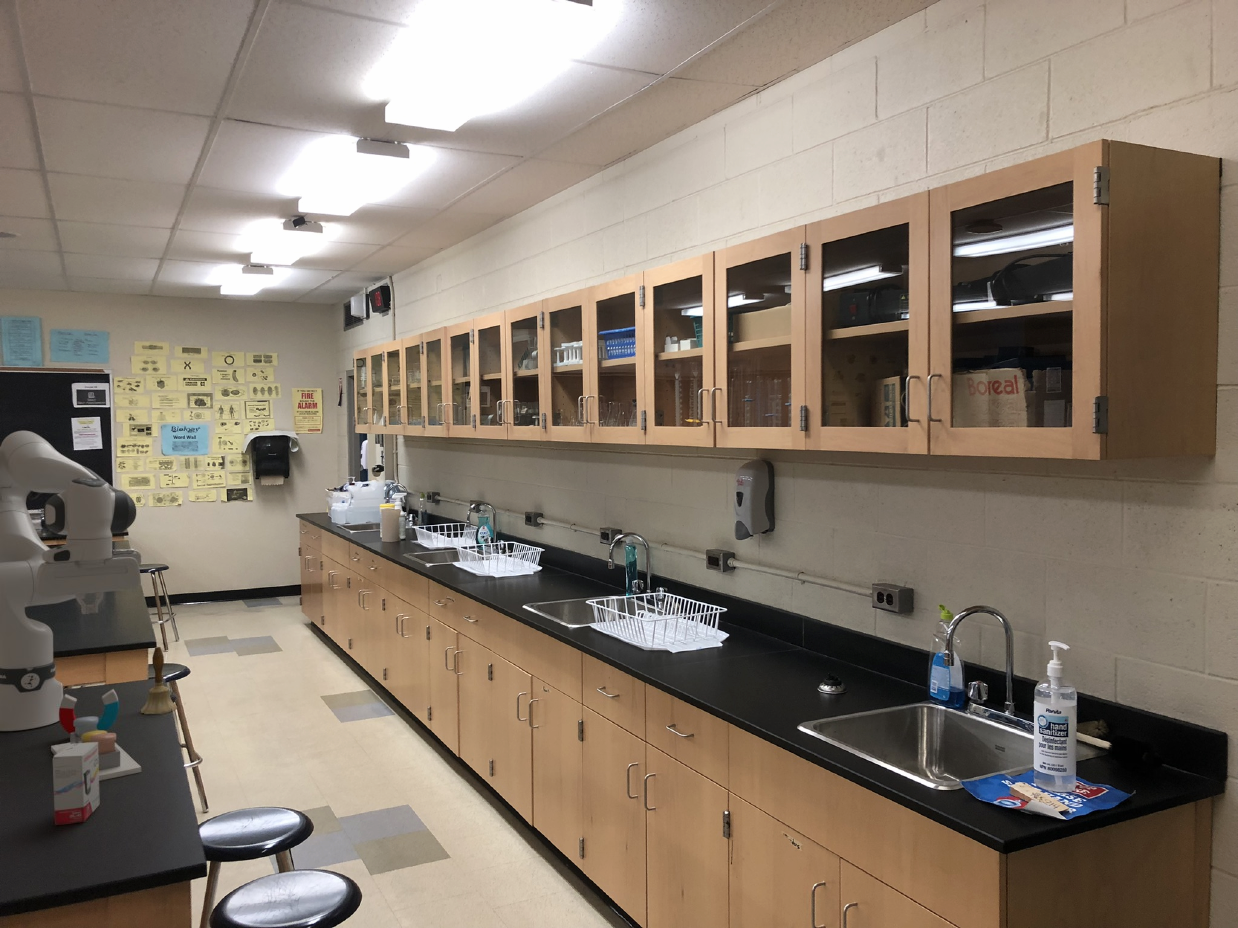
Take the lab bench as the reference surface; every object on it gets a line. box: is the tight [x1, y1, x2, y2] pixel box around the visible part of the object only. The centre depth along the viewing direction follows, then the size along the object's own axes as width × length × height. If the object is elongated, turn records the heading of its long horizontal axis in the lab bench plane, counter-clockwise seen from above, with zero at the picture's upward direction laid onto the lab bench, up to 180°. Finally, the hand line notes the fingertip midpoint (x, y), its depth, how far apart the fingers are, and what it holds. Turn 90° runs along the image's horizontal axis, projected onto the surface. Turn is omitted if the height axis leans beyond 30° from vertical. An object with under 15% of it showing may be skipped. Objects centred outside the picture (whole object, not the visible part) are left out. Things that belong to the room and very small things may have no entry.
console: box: [50, 729, 142, 782], centre depth 189 cm, size 28×11×4 cm, turn 42°
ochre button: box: [82, 730, 108, 743], centre depth 189 cm, size 5×5×4 cm
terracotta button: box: [90, 732, 117, 755], centre depth 183 cm, size 5×5×4 cm
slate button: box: [74, 716, 99, 737], centre depth 195 cm, size 5×5×4 cm
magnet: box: [59, 688, 120, 735], centre depth 206 cm, size 12×3×10 cm, turn 118°
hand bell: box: [140, 646, 178, 715], centre depth 228 cm, size 8×8×16 cm
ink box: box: [52, 742, 101, 826], centre depth 160 cm, size 9×5×12 cm, turn 13°
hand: (89, 613), depth 201 cm, fingers closed
